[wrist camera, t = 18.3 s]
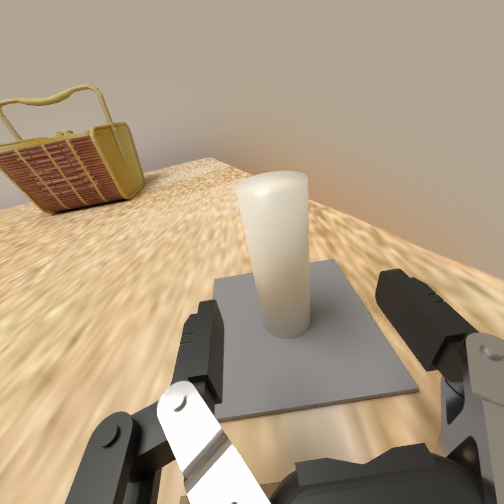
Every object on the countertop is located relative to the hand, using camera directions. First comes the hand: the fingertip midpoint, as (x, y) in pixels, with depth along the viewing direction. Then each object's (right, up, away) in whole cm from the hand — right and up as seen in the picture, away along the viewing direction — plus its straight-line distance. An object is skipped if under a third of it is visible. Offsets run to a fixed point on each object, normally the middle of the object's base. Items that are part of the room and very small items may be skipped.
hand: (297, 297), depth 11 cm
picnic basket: (-53, +20, +65) cm, 87 cm away
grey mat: (+1, -5, +12) cm, 13 cm away
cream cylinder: (+1, -4, +12) cm, 13 cm away
